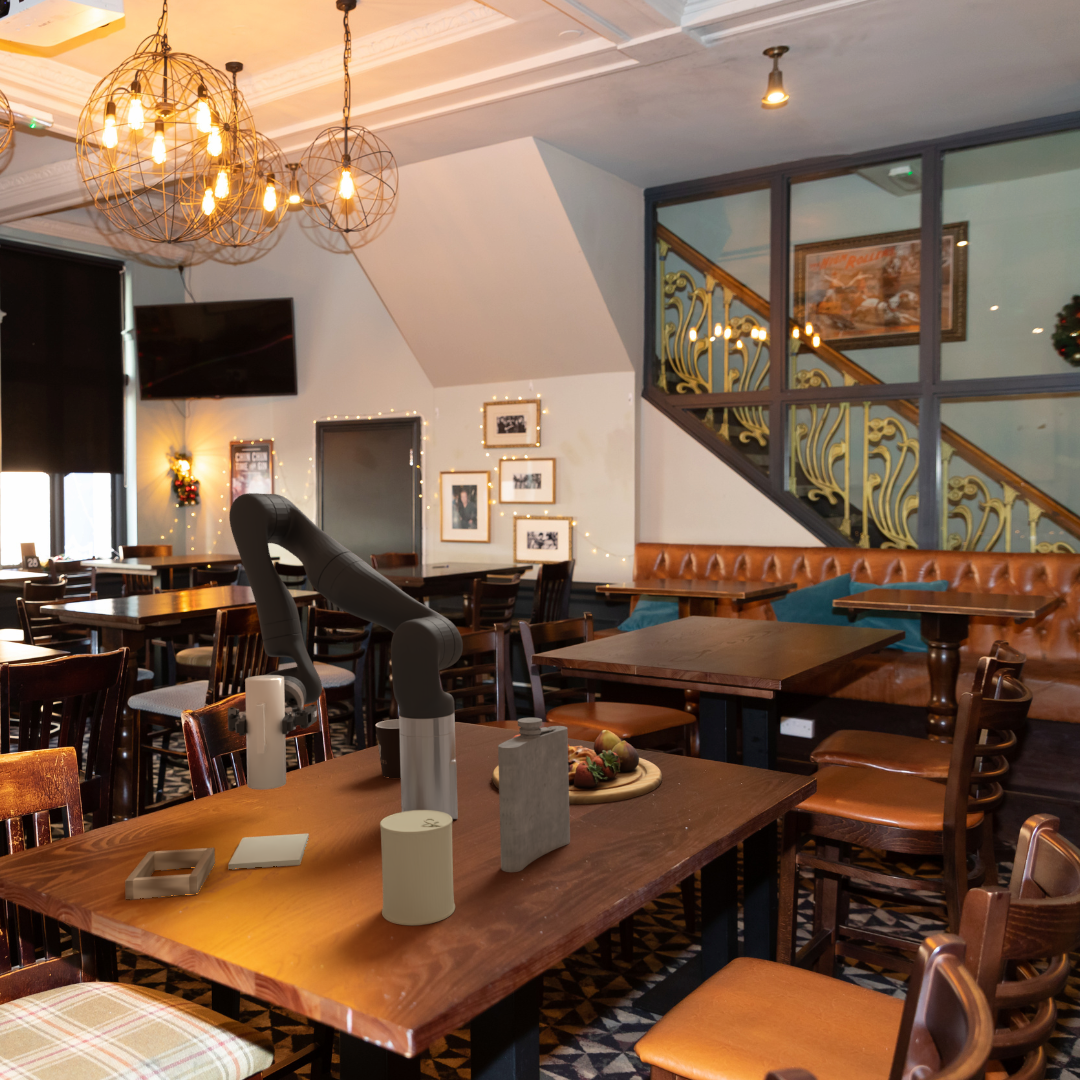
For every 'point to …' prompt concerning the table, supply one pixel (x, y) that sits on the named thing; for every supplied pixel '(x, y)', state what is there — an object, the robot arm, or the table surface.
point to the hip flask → (533, 793)
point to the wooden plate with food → (606, 772)
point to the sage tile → (269, 851)
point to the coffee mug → (389, 747)
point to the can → (417, 867)
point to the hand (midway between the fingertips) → (263, 728)
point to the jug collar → (159, 886)
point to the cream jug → (265, 732)
